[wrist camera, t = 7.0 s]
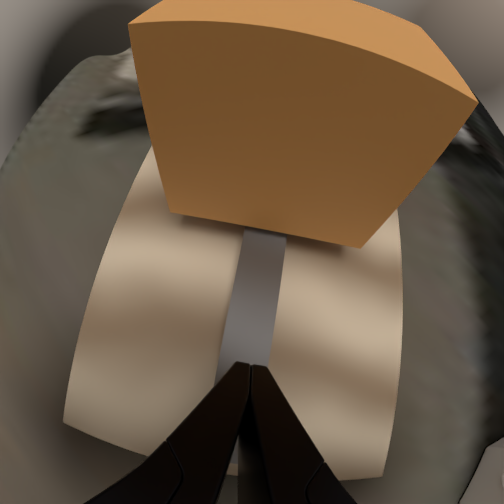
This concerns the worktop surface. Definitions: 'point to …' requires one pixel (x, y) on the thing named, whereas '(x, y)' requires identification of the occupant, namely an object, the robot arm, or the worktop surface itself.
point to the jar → (488, 478)
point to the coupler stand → (239, 329)
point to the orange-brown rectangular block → (293, 111)
